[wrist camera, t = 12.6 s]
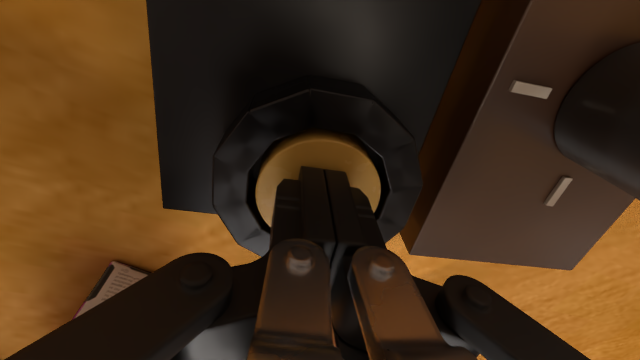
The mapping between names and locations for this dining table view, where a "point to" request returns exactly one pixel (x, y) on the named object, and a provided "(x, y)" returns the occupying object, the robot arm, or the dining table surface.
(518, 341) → the robot arm
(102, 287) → the candy bar box
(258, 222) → the lamp base
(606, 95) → the dimmer knob
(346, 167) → the button
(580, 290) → the dining table surface
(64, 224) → the dining table surface
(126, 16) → the dining table surface
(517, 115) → the dimmer panel
